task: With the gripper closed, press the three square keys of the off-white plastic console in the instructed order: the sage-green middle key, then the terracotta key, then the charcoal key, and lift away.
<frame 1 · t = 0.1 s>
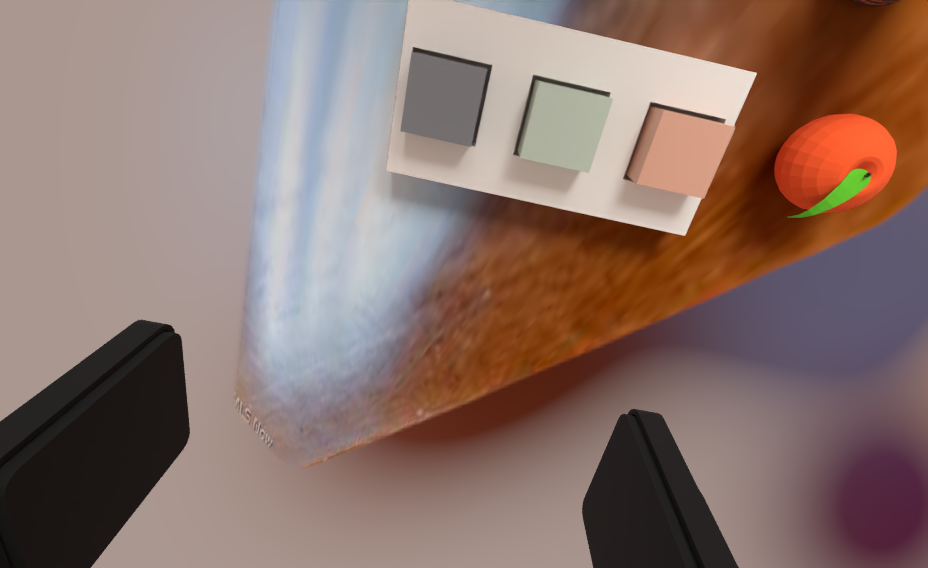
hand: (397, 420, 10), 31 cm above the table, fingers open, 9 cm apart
charcoal button: (444, 99, 33), point 4 cm above the table, slide at 0.0 cm
sage button: (562, 126, 33), point 4 cm above the table, slide at 0.0 cm
console: (555, 119, 37), on the table
clementine: (795, 160, 37), on the table
terracotta button: (676, 152, 33), point 4 cm above the table, slide at 0.0 cm
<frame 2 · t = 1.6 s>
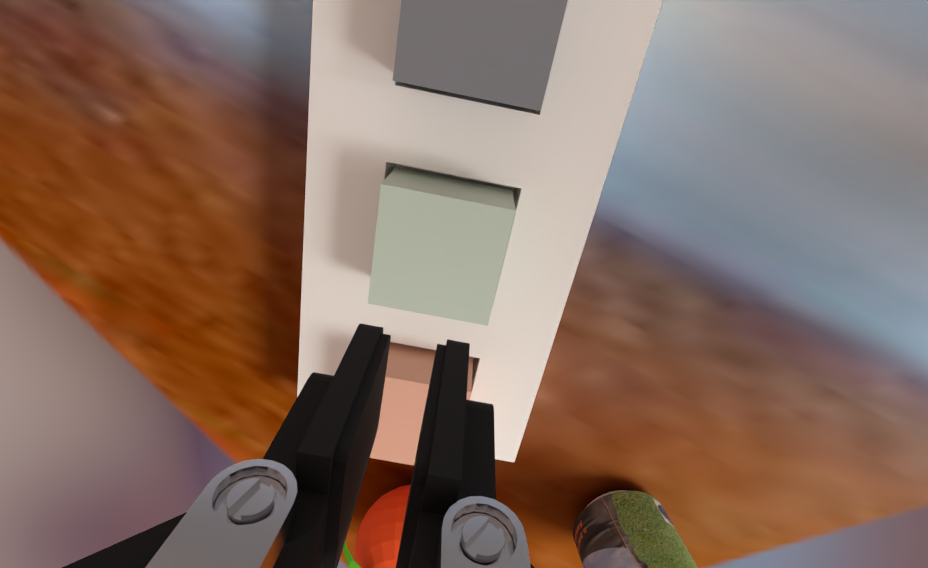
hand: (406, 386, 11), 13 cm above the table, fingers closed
beverage can: (624, 507, 31), on the table
charcoal button: (482, 14, 16), point 4 cm above the table, slide at 0.0 cm
sage button: (441, 245, 19), point 4 cm above the table, slide at 0.0 cm
console: (448, 218, 23), on the table
clementine: (413, 492, 32), on the table
terracotta button: (413, 403, 23), point 4 cm above the table, slide at 0.0 cm
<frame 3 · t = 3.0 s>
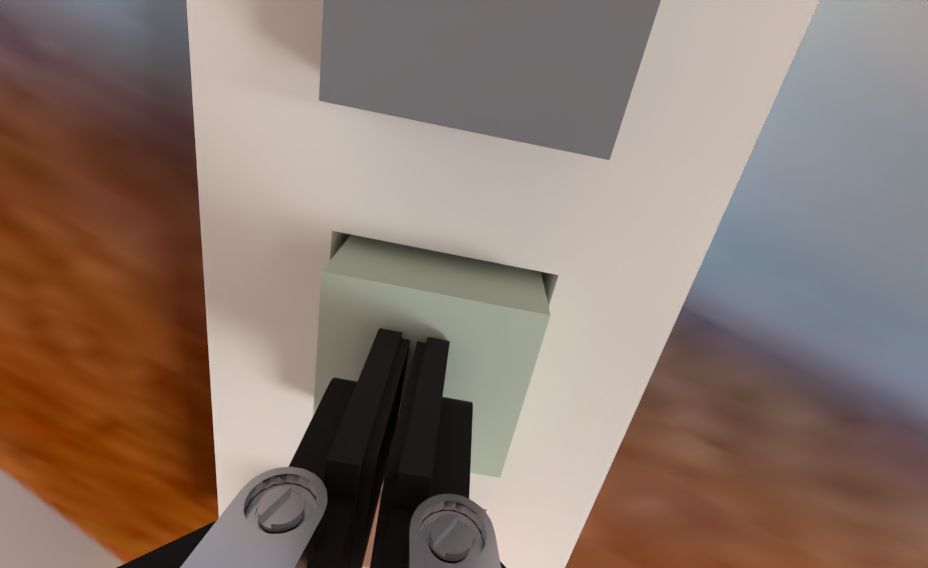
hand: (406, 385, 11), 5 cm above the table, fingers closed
sage button: (428, 350, 12), point 3 cm above the table, slide at 0.7 cm, touching gripper
console: (439, 297, 15), on the table
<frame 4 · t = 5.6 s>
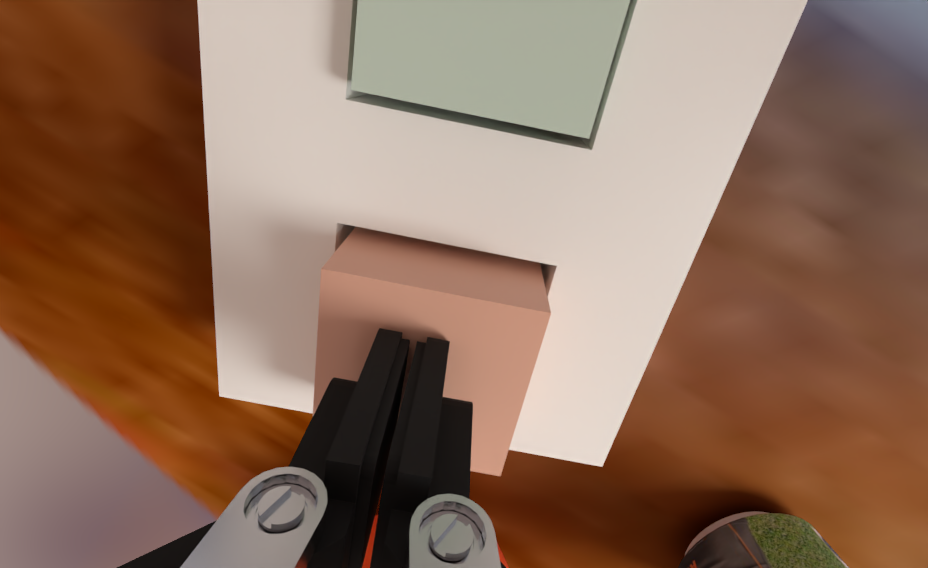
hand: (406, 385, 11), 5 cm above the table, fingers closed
beverage can: (749, 536, 20), on the table
clementine: (423, 509, 21), on the table
terracotta button: (428, 348, 12), point 4 cm above the table, slide at 0.3 cm, touching gripper
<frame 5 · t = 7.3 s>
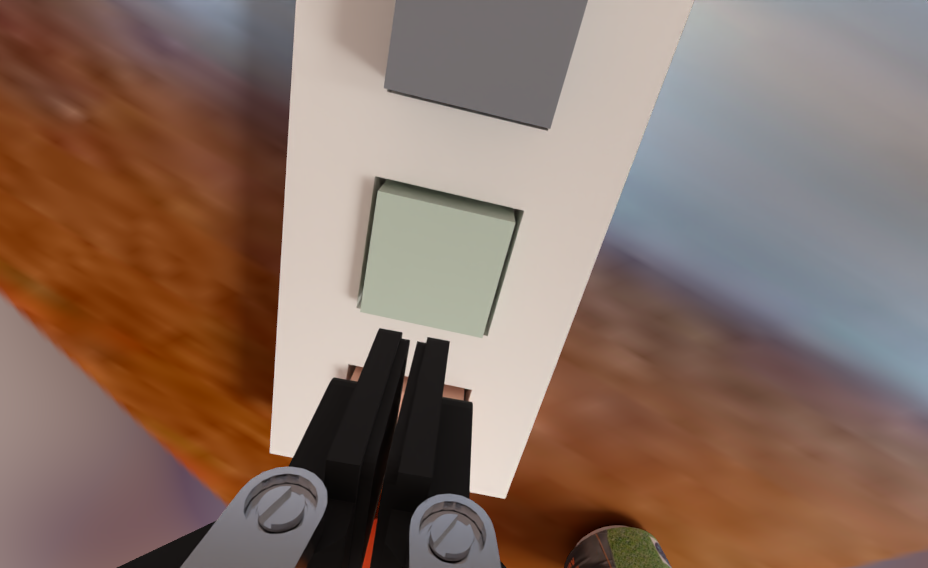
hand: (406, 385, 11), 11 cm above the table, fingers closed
beverage can: (618, 541, 30), on the table
charcoal button: (488, 17, 14), point 4 cm above the table, slide at 0.0 cm
sage button: (437, 254, 19), point 2 cm above the table, slide at 1.6 cm
console: (441, 236, 21), on the table
terracotta button: (403, 413, 23), point 2 cm above the table, slide at 1.6 cm
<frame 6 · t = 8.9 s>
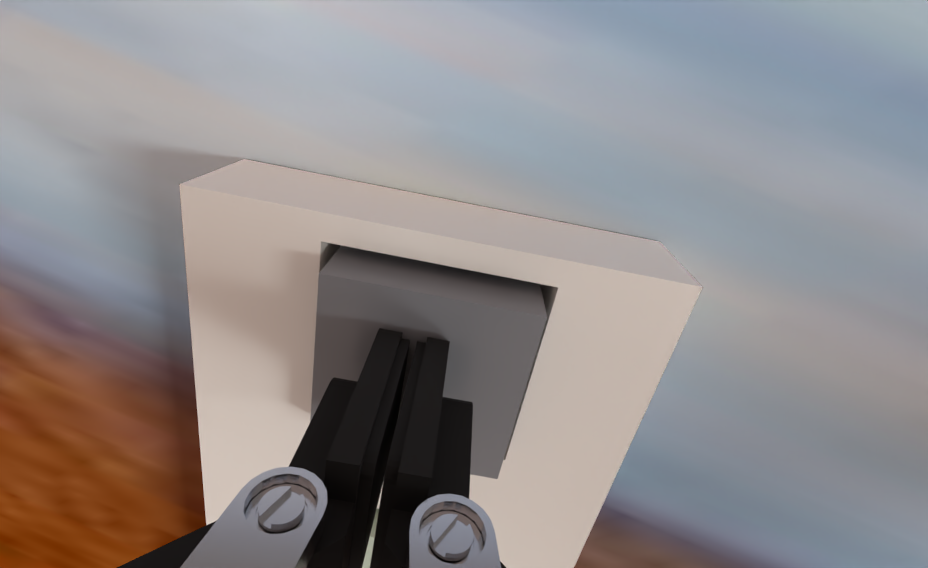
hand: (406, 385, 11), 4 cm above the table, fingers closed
charcoal button: (425, 351, 12), point 2 cm above the table, slide at 1.3 cm, touching gripper
sage button: (390, 546, 16), point 2 cm above the table, slide at 1.6 cm
console: (401, 493, 18), on the table
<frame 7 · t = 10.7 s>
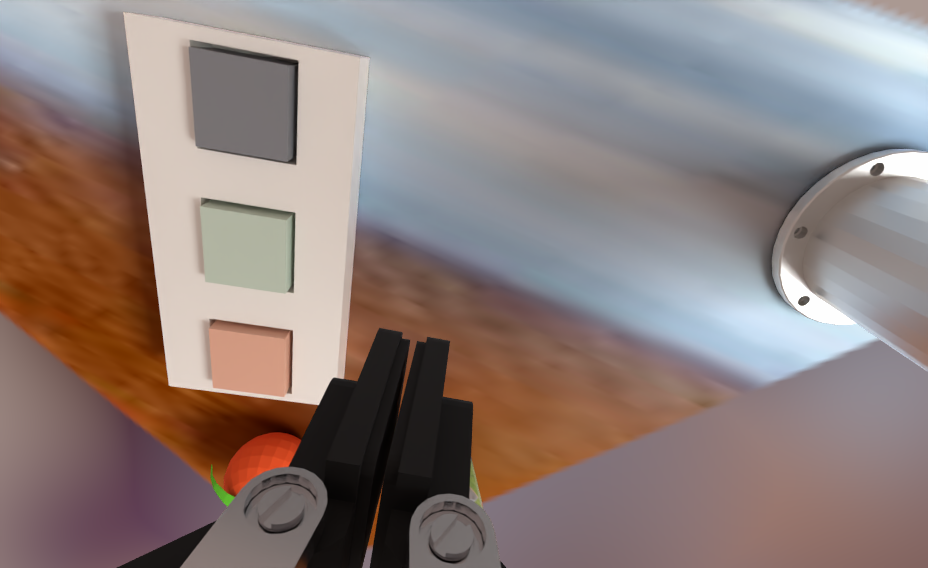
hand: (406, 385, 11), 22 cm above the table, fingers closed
beverage can: (443, 443, 41), on the table
charcoal button: (251, 104, 26), point 2 cm above the table, slide at 1.6 cm
sage button: (254, 243, 30), point 2 cm above the table, slide at 1.6 cm
console: (267, 231, 32), on the table
clementine: (281, 440, 41), on the table
terracotta button: (256, 351, 34), point 2 cm above the table, slide at 1.6 cm
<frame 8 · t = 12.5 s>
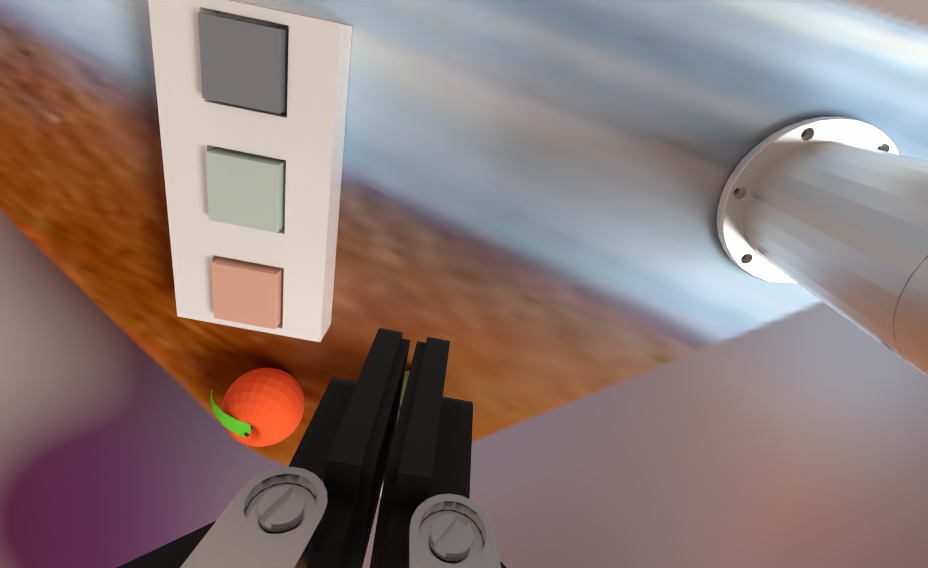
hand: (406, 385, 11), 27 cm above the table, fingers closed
charcoal button: (250, 64, 31), point 2 cm above the table, slide at 1.6 cm
sage button: (251, 188, 35), point 2 cm above the table, slide at 1.6 cm
console: (264, 181, 37), on the table
clementine: (275, 378, 46), on the table
terracotta button: (252, 288, 38), point 2 cm above the table, slide at 1.6 cm
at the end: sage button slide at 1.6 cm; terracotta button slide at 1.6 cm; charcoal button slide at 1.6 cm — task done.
